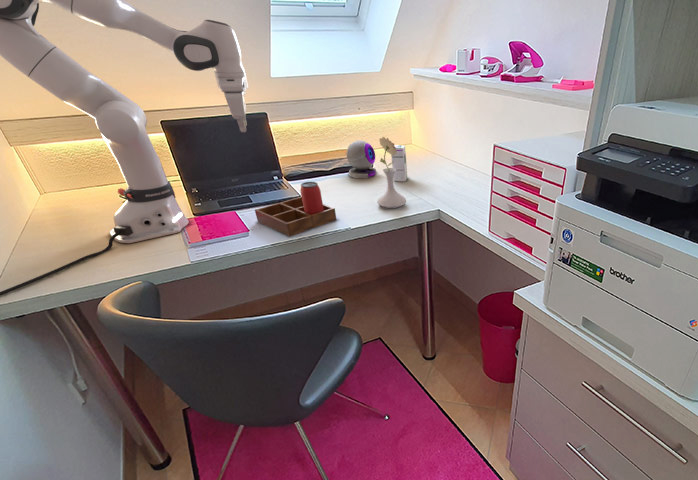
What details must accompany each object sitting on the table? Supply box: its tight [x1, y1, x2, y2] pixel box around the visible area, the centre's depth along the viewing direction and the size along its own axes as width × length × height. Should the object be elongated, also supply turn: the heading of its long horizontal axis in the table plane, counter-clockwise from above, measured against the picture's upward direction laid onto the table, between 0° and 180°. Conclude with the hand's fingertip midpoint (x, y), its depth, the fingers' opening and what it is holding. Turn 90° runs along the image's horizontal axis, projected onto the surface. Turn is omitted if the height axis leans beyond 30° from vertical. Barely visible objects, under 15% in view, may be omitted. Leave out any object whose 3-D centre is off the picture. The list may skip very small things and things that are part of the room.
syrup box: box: [390, 144, 408, 182], centre depth 191 cm, size 6×6×14 cm
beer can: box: [300, 181, 324, 215], centre depth 149 cm, size 7×7×12 cm
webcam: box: [346, 139, 377, 179], centre depth 196 cm, size 13×13×15 cm
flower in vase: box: [377, 136, 407, 209], centre depth 161 cm, size 13×11×25 cm
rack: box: [254, 195, 337, 238], centre depth 151 cm, size 19×19×4 cm
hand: (243, 128), depth 143 cm, fingers open, 8 cm apart
